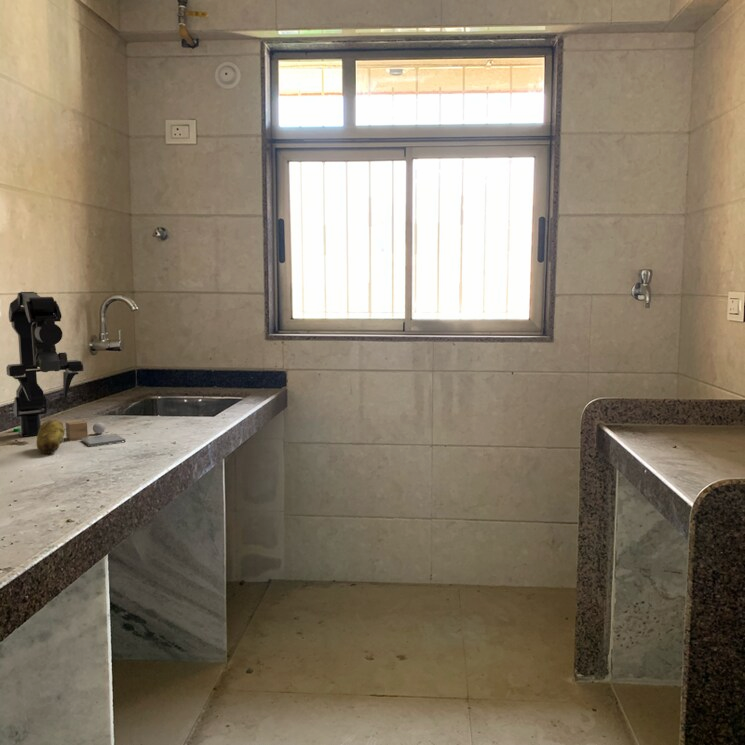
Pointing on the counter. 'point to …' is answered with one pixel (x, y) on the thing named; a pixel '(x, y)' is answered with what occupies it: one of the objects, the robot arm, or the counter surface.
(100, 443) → the slate board
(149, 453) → the counter surface
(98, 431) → the grey ball
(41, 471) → the counter surface
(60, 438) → the potato
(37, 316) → the robot arm
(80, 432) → the tan block
